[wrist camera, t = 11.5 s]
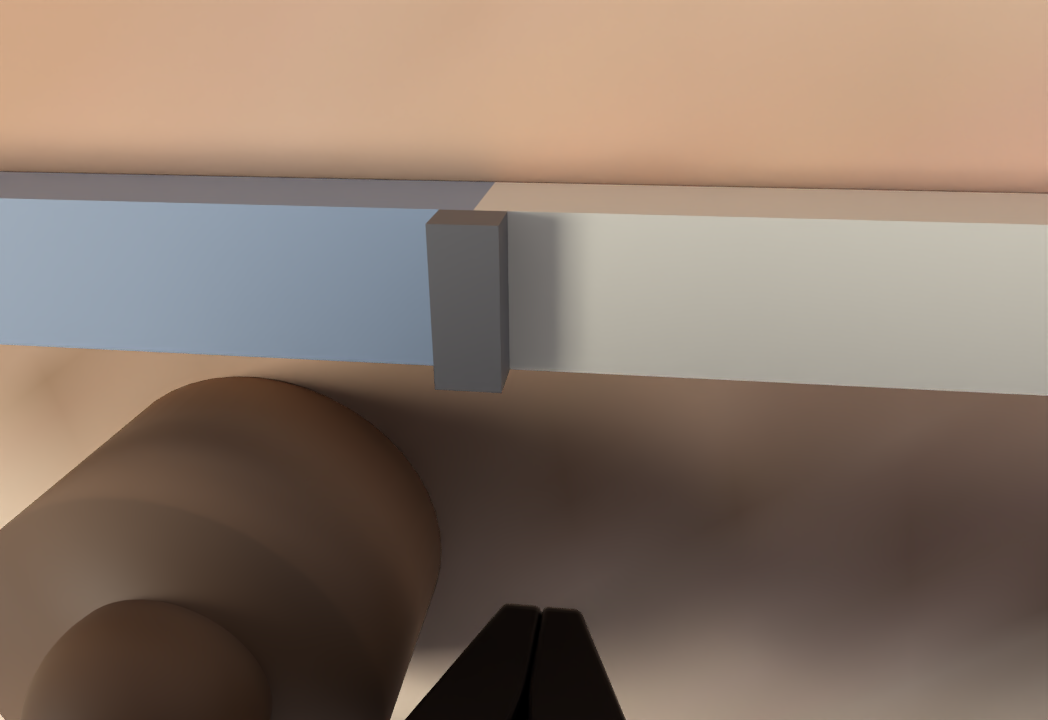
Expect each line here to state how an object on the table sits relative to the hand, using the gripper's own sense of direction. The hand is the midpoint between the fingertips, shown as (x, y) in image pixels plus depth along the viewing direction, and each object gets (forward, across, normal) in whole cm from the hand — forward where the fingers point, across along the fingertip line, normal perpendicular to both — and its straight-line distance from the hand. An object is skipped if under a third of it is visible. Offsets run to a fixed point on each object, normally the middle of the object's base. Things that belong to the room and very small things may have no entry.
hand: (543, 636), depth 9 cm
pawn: (+1, +4, 0) cm, 4 cm away
